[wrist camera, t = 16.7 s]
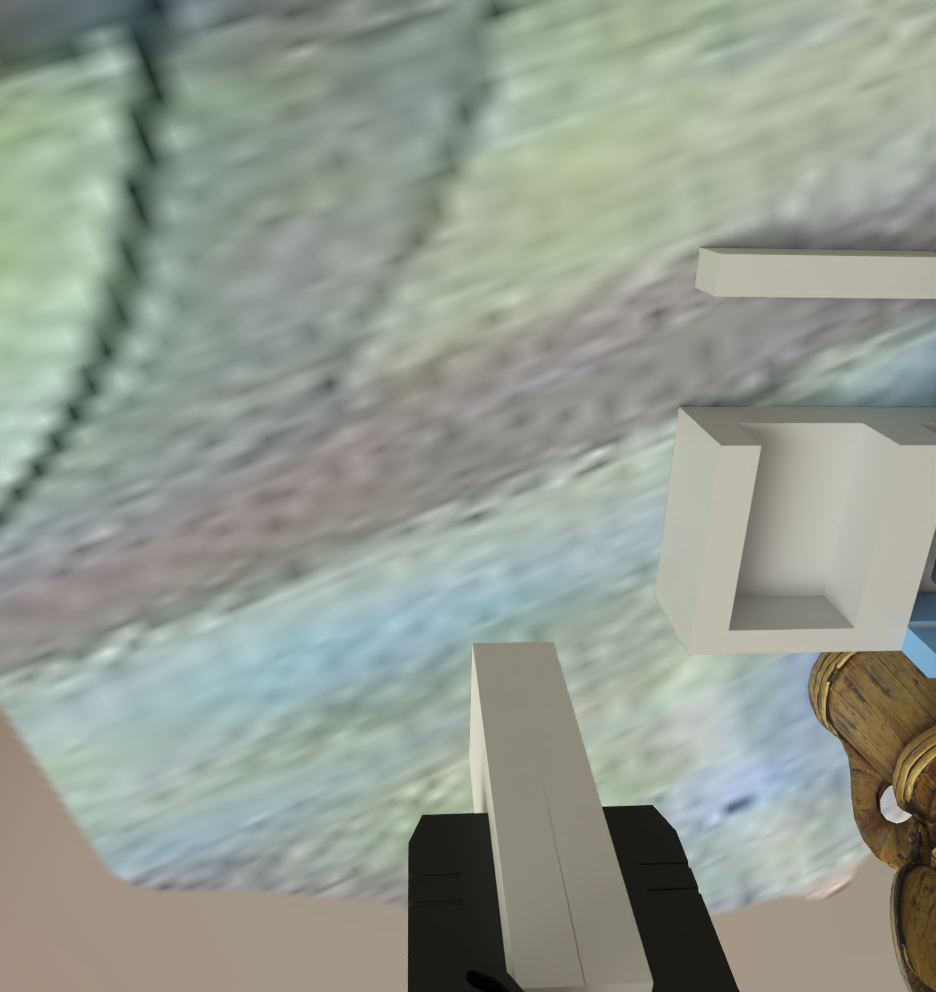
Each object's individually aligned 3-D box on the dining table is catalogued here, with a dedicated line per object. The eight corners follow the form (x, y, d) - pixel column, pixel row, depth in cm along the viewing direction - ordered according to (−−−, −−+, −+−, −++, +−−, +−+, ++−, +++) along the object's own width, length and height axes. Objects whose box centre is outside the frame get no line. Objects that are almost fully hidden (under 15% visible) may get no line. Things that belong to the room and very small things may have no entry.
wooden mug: (726, 719, 53) (869, 973, 36) (894, 590, 50) (1134, 805, 33) (802, 787, 56) (966, 1051, 39) (965, 669, 53) (1218, 903, 36)
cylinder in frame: (699, 247, 41) (773, 270, 32) (1102, 253, 42) (1270, 277, 34) (654, 594, 49) (704, 683, 40) (993, 588, 50) (1108, 673, 42)
